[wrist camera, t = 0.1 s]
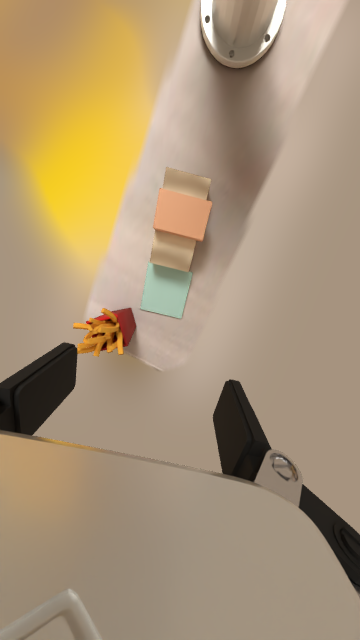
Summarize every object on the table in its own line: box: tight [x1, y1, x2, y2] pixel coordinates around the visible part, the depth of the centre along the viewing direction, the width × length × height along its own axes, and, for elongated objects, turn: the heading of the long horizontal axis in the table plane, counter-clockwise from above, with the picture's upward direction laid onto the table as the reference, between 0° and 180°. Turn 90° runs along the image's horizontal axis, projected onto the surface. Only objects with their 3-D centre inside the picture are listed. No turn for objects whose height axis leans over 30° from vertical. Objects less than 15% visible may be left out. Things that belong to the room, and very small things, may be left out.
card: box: [153, 188, 212, 242], centre depth 31 cm, size 6×9×2 cm, turn 77°
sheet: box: [150, 167, 211, 272], centre depth 34 cm, size 16×8×4 cm, turn 167°
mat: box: [140, 262, 193, 319], centre depth 40 cm, size 11×10×1 cm
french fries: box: [73, 308, 136, 356], centre depth 35 cm, size 9×8×15 cm
